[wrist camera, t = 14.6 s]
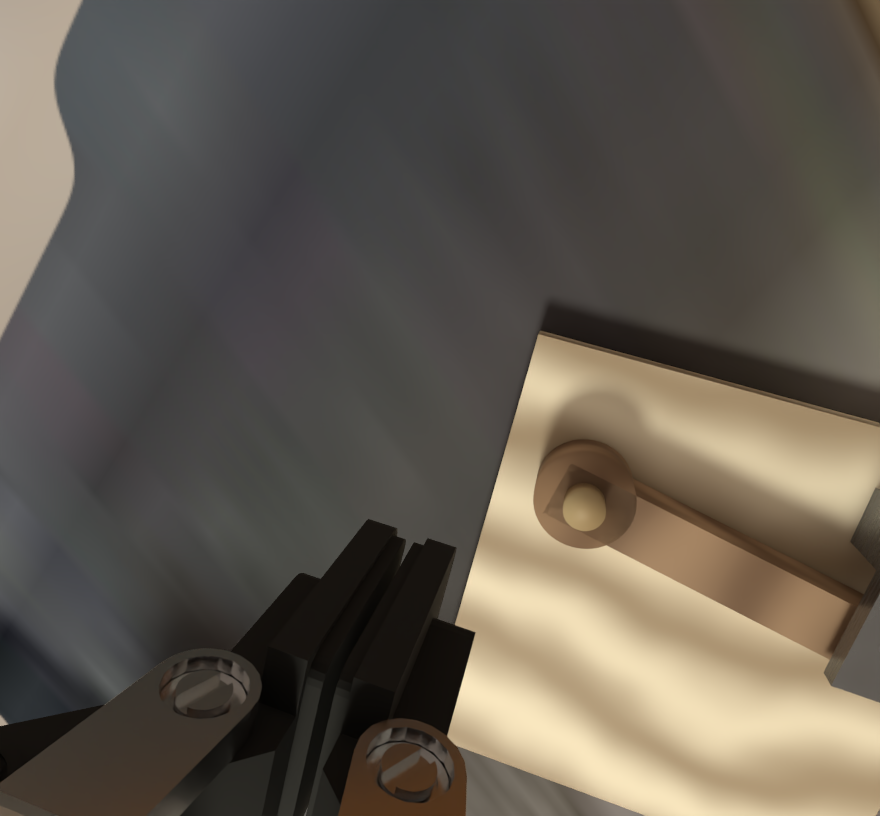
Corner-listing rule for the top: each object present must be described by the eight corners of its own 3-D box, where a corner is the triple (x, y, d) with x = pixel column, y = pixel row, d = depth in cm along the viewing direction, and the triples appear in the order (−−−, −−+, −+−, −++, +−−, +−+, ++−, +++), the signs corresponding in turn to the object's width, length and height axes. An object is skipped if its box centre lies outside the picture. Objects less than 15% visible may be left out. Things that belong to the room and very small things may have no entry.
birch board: (540, 330, 35) (538, 334, 33) (1044, 467, 31) (1066, 478, 30) (429, 716, 42) (423, 733, 41) (826, 862, 39) (836, 886, 37)
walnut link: (520, 501, 35) (513, 529, 32) (563, 422, 34) (561, 443, 30) (876, 683, 34) (910, 734, 30) (938, 609, 32) (981, 654, 29)
